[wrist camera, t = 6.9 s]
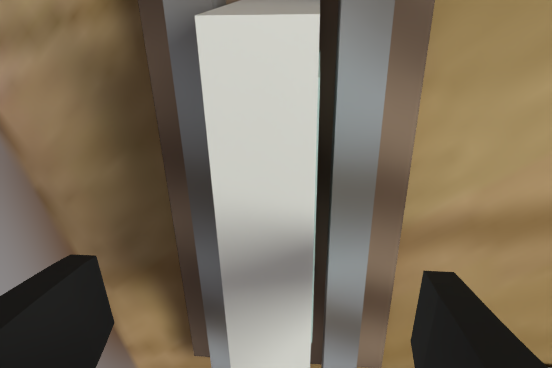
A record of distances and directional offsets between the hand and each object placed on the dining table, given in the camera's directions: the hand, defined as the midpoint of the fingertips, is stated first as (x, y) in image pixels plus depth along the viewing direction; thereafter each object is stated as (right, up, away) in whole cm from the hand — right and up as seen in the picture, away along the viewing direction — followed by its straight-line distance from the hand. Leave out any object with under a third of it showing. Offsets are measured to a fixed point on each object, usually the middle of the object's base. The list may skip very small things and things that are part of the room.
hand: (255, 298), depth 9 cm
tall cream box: (+1, +3, +7) cm, 8 cm away
